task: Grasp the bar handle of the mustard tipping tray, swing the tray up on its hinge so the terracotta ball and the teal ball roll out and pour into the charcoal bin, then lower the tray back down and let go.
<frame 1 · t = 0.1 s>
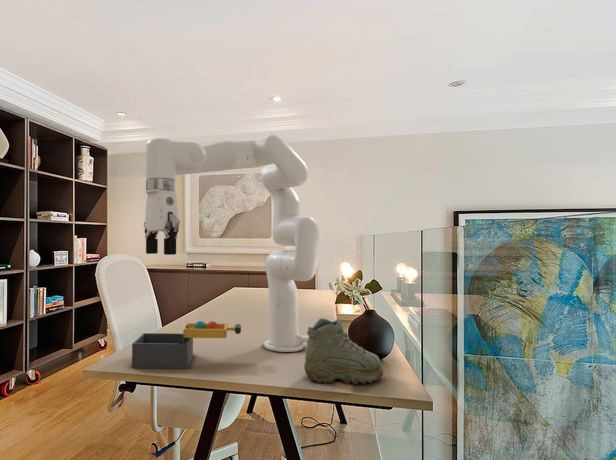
hand: (160, 254, 99), 31 cm above the table, tool pointing down, fingers open, 9 cm apart
bin: (164, 361, 111), on the table
sneaker: (343, 378, 97), on the table
tipping tray: (213, 330, 110), point 9 cm above the table, hinge at 0.0°, touching teal ball, terracotta ball
teal ball: (200, 326, 110), point 10 cm above the table, touching tipping tray
terracotta ball: (212, 326, 110), point 10 cm above the table, touching tipping tray
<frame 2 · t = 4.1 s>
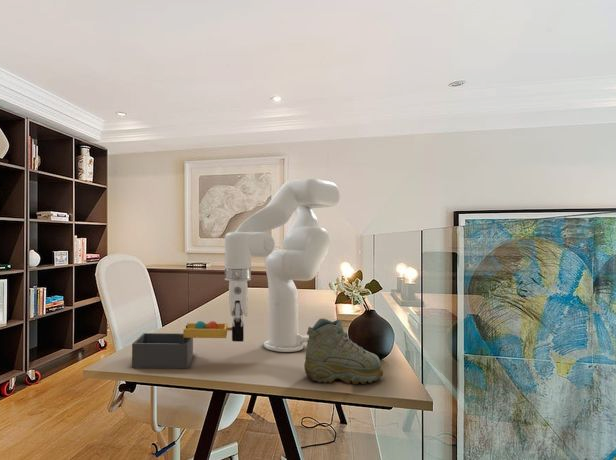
hand: (237, 337, 110), 7 cm above the table, tool pointing down, fingers closed on tipping tray, 4 cm apart
tipping tray: (213, 330, 110), point 9 cm above the table, hinge at 0.0°, touching gripper, teal ball, terracotta ball
everything else where it was.
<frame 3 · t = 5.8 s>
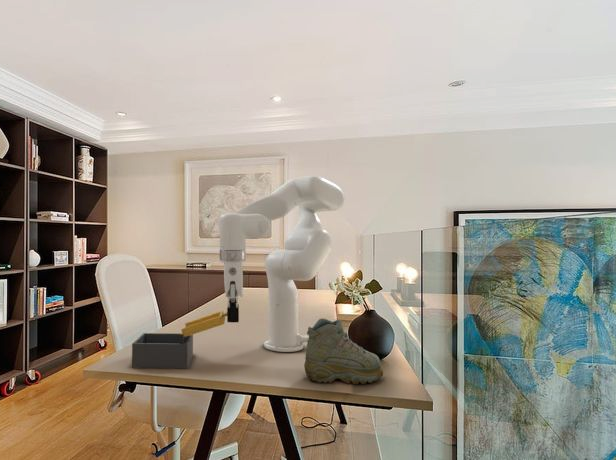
hand: (233, 319, 110), 12 cm above the table, tool pointing down, fingers closed on tipping tray, 4 cm apart
tipping tray: (210, 321, 110), point 12 cm above the table, hinge at 18.7°, touching gripper
teal ball: (146, 353, 111), point 2 cm above the table, tilted 129°, touching bin
terracotta ball: (182, 353, 110), point 2 cm above the table, tilted 151°, touching bin
everything else where it was.
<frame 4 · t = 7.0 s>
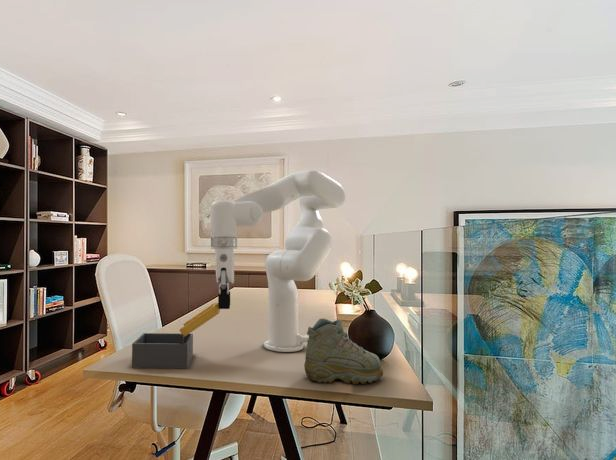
hand: (224, 306, 110), 16 cm above the table, tool pointing down, fingers closed on tipping tray, 4 cm apart
tipping tray: (206, 314, 110), point 13 cm above the table, hinge at 34.1°, touching gripper
teal ball: (152, 353, 111), point 2 cm above the table, tilted 172°, touching bin
terracotta ball: (173, 353, 110), point 2 cm above the table, tilted 124°, touching bin
everything else where it was.
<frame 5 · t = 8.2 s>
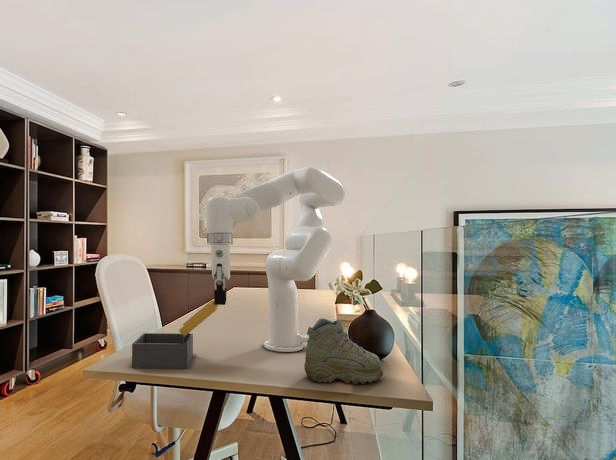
hand: (220, 302, 110), 17 cm above the table, tool pointing down, fingers closed on tipping tray, 4 cm apart
tipping tray: (204, 312, 110), point 14 cm above the table, hinge at 39.7°, touching gripper
teal ball: (156, 353, 111), point 2 cm above the table, tilted 129°, touching bin
terracotta ball: (167, 353, 111), point 2 cm above the table, tilted 61°, touching bin
everything else where it was.
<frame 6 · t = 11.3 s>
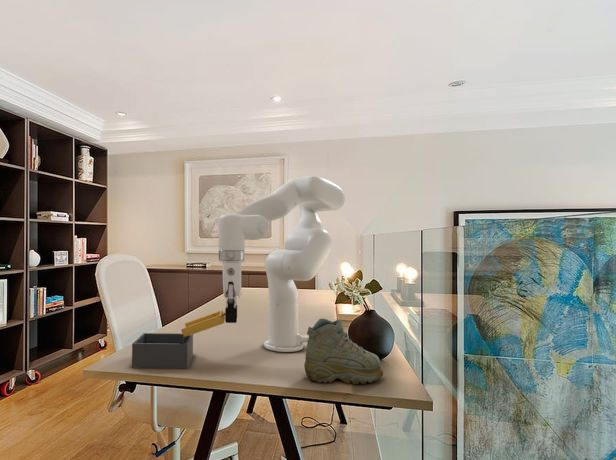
hand: (231, 319, 110), 12 cm above the table, tool pointing down, fingers closed on tipping tray, 4 cm apart
tipping tray: (210, 320, 110), point 12 cm above the table, hinge at 19.6°, touching gripper
teal ball: (153, 353, 111), point 2 cm above the table, tilted 163°, touching bin
terracotta ball: (171, 353, 111), point 2 cm above the table, tilted 96°, touching bin
everything else where it was.
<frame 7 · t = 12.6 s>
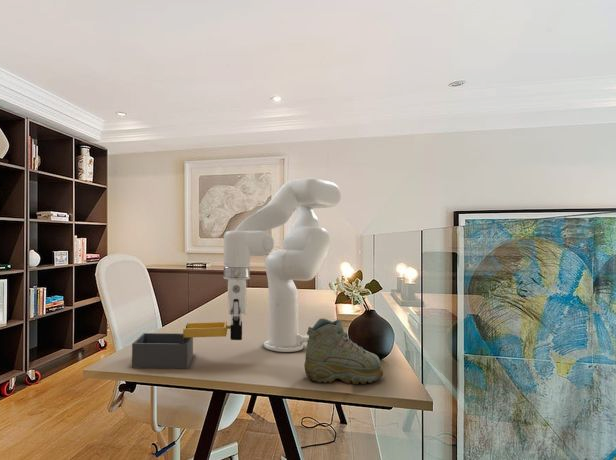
hand: (236, 336, 110), 7 cm above the table, tool pointing down, fingers closed on tipping tray, 4 cm apart
tipping tray: (212, 328, 110), point 9 cm above the table, hinge at 2.2°, touching gripper
teal ball: (151, 353, 111), point 2 cm above the table, tilted 177°, touching bin
terracotta ball: (172, 353, 110), point 2 cm above the table, tilted 110°, touching bin
everything else where it was.
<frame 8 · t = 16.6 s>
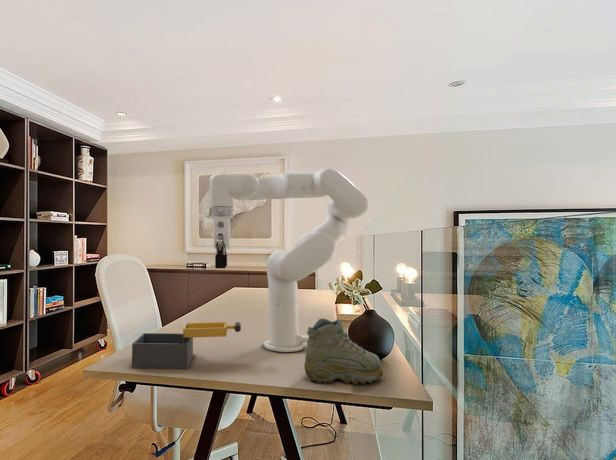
hand: (221, 267, 122), 26 cm above the table, tool pointing down, fingers open, 9 cm apart
tipping tray: (212, 329, 110), point 9 cm above the table, hinge at 2.1°
teal ball: (147, 353, 111), point 2 cm above the table, tilted 139°, touching bin
terracotta ball: (176, 353, 110), point 2 cm above the table, tilted 154°, touching bin
everything else where it was.
at the end: terracotta ball inside the target area on the bin (3.7 cm from its centre), point 2.1 cm above the bin's base; teal ball inside the target area on the bin (4.9 cm from its centre), point 2.1 cm above the bin's base; tipping tray reached +41° during the clip, +2° at the end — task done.
